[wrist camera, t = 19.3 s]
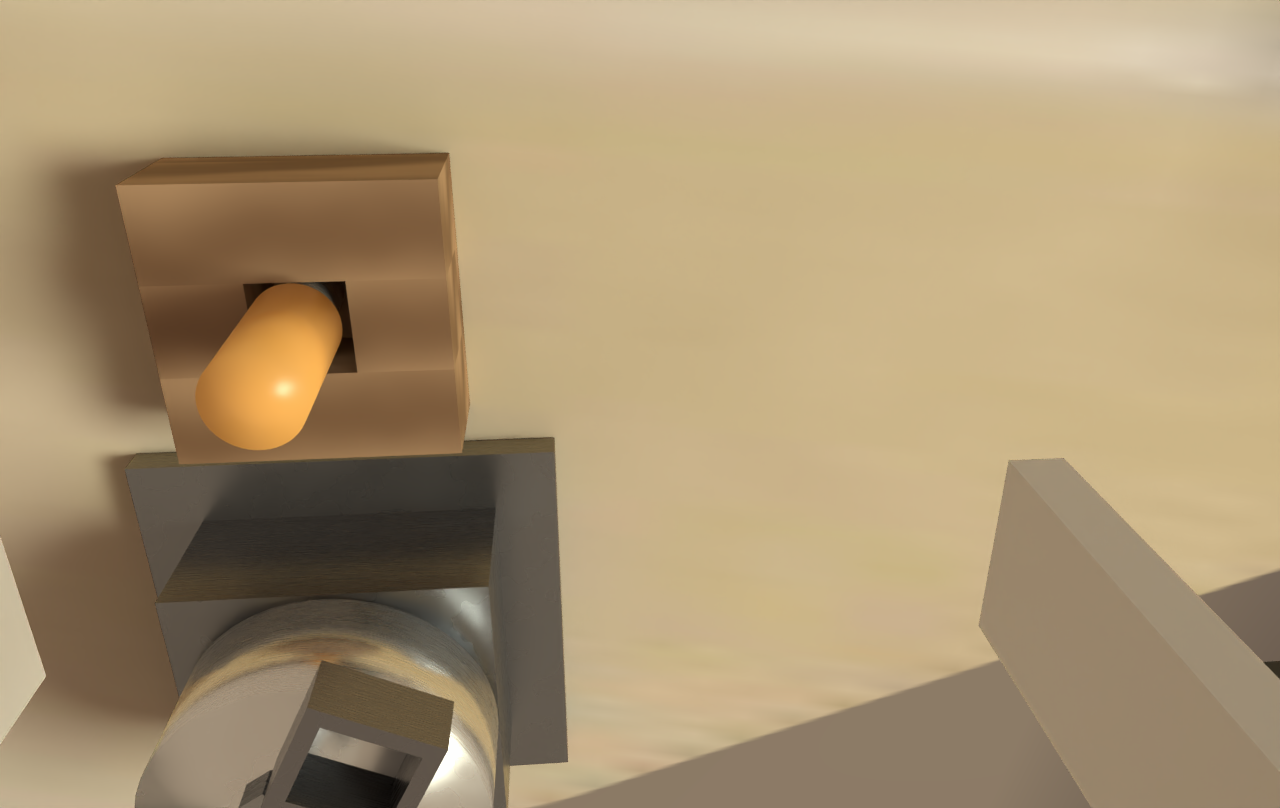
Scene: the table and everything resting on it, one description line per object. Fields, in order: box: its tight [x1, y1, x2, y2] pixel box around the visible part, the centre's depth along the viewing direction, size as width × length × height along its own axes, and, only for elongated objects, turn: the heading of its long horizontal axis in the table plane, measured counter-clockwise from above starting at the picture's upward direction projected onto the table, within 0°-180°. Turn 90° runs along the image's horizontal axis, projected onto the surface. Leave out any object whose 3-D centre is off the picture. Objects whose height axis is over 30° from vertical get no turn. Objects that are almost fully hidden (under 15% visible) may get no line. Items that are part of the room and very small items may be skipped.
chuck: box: [135, 599, 499, 808], centre depth 41 cm, size 15×14×9 cm
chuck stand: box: [125, 438, 568, 808], centre depth 49 cm, size 20×20×8 cm
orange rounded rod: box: [195, 281, 347, 450], centre depth 38 cm, size 4×4×12 cm
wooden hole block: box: [115, 153, 470, 464], centre depth 43 cm, size 12×12×5 cm
